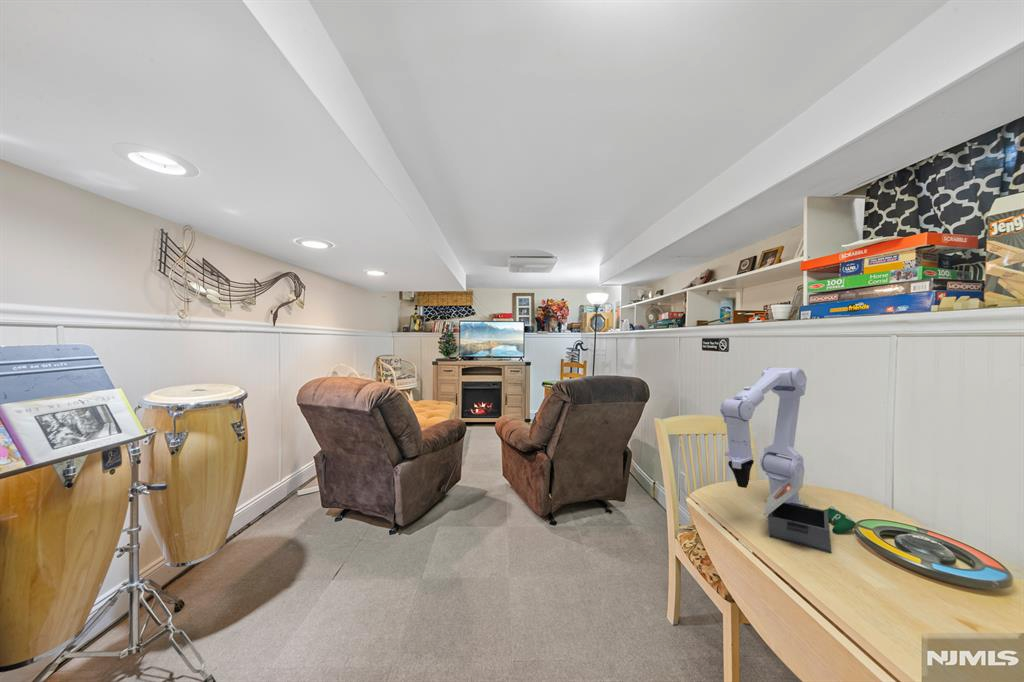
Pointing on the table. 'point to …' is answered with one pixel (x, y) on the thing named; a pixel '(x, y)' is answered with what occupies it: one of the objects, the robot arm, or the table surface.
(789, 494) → the lid
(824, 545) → the storage bin
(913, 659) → the table surface
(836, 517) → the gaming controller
